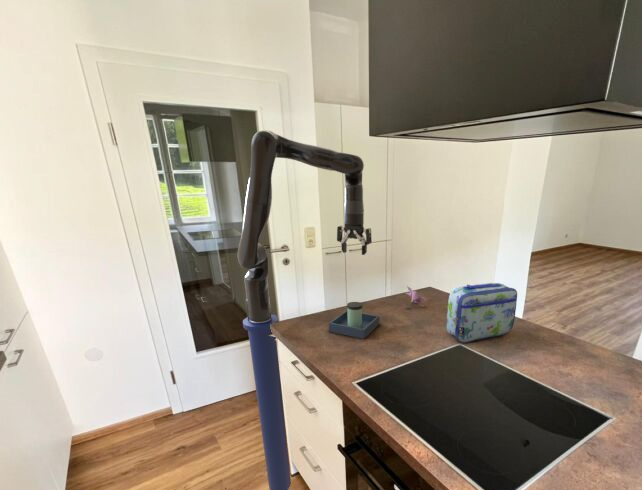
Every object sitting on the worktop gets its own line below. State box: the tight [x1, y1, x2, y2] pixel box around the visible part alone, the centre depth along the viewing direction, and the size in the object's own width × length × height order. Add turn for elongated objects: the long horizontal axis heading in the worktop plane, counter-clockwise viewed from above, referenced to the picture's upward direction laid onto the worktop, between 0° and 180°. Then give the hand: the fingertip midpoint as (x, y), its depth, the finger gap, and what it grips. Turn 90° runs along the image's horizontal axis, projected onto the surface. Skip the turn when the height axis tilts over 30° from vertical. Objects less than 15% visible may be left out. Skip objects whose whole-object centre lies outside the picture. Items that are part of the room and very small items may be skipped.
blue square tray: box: [328, 309, 380, 340], centre depth 145 cm, size 15×15×4 cm
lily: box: [405, 285, 428, 309], centre depth 168 cm, size 12×12×10 cm
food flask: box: [346, 301, 363, 328], centre depth 144 cm, size 6×6×10 cm
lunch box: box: [446, 282, 518, 344], centre depth 137 cm, size 26×11×21 cm, turn 108°
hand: (354, 253), depth 145 cm, fingers open, 8 cm apart
